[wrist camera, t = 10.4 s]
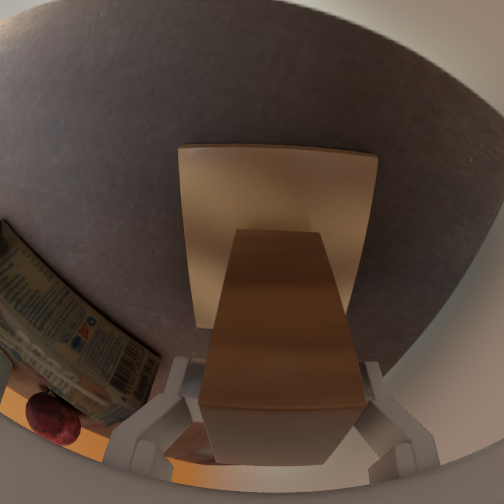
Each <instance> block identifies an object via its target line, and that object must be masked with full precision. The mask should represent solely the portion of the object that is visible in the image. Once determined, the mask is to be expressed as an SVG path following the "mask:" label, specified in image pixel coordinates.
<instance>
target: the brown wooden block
mask: <svg viewBox="0 0 504 504" xmlns="http://www.w3.org/2000/svg"><path fill="white" fill-rule="evenodd" d="M198 405H199V408H200V412H201V415H202V419H203V422H204V425H205V429H206V432H207V435H208V438H209V441H210V445H211V448H212V451H213V454H214V457H215V460H216V462H217V463H224V464H236V465H253V466H306V465H321V464H324V463H325V462H326V461H327V459H328V458H329V457H330V456H331V454H332V453H333V452H334V451H335V449H336V448H337V447H338V446H339V444H340V443H341V442H342V440H343V439H344V437H345V436H346V435H347V434H348V432H349V431H350V430H351V428H352V427H353V425H354V424H355V423H356V421H357V420H358V418H359V417H360V415H361V414H362V412H363V411H364V409H365V408H366V406H367V399H366V394H365V390H364V385H363V381H362V377H361V372H360V368H359V364H358V360H357V356H356V352H355V348H354V344H353V341H352V337H351V333H350V329H349V326H348V322H347V318H346V315H345V311H344V308H343V304H342V301H341V298H340V294H339V291H338V288H337V284H336V281H335V278H334V275H333V271H332V268H331V265H330V262H329V259H328V256H327V253H326V250H325V247H324V244H323V241H322V238H321V235H320V233H319V232H300V231H278V230H253V229H236V230H235V234H234V239H233V243H232V247H231V251H230V256H229V260H228V264H227V269H226V273H225V277H224V282H223V286H222V291H221V295H220V300H219V304H218V309H217V313H216V318H215V322H214V327H213V331H212V336H211V341H210V345H209V350H208V355H207V360H206V364H205V369H204V374H203V379H202V384H201V388H200V393H199V398H198Z"/></svg>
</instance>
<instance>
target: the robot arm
mask: <svg viewBox="0 0 504 504" xmlns="http://www.w3.org/2000/svg"><path fill="white" fill-rule="evenodd" d="M206 360H207V359H199V358H191V357H183V356H176V357H175V358H174V360H173V363H172V367H171V370H170V373H169V376H168V380H167V383H166V386H165V390H164V393H163V394H162V393H159V394H158V395H156V396H155V397H154V398H153V399H151V400H150V401H149V402H148V403H147V404H145V405H144V406H143V407H142V408H140V409H139V410H138V411H137V412H135V413H134V414H133V415H131V416H130V417H129V418H128V419H126V420H125V421H124V422H123V423H121V424H120V425H119V426H117V427H116V428H115V429H113V431H112V434H111V437H110V440H109V442H108V446H107V448H106V451H105V455H104V458H103V461H102V463H101V462H98V461H95V460H93V459H90V458H88V457H85V456H83V455H80V454H78V453H75V452H73V451H71V450H69V449H66V448H64V447H62V446H60V445H58V444H56V443H54V442H52V441H50V440H47V439H46V438H44V437H42V436H40V435H38V434H36V433H34V432H32V431H30V430H29V429H27V428H25V427H23V426H22V425H20V424H18V423H17V422H15V421H13V420H12V419H10V418H8V417H7V416H5V415H4V414H2V413H1V412H0V504H504V438H503V439H501V440H499V441H497V442H496V443H493V444H491V445H489V446H487V447H485V448H483V449H481V450H479V451H476V452H474V453H472V454H469V455H467V456H465V457H462V458H460V459H457V460H455V461H452V462H449V463H447V464H444V465H440V461H439V457H438V453H437V449H436V445H435V441H434V438H433V435H432V434H431V433H430V432H429V431H428V430H427V429H426V428H425V427H423V426H422V425H421V424H420V423H419V422H418V421H417V420H416V419H415V418H414V417H412V416H411V415H410V414H409V413H408V412H407V411H406V410H405V409H404V408H403V407H401V406H400V405H399V404H398V403H397V402H396V401H395V400H394V399H393V398H388V395H387V391H386V388H385V384H384V381H383V377H382V374H381V370H380V367H379V364H378V362H377V361H371V362H358V364H359V368H360V372H361V377H362V381H363V385H364V390H365V394H366V399H367V406H366V408H365V409H364V411H363V412H362V414H361V415H360V417H359V418H358V420H357V421H356V423H355V424H354V427H355V428H356V429H357V430H358V432H359V433H360V434H361V435H362V437H363V438H364V439H365V440H366V442H367V443H368V444H369V445H370V447H371V448H372V449H373V450H374V452H375V453H376V454H377V455H378V456H379V458H380V459H379V460H378V461H377V462H376V463H375V464H373V465H372V466H371V467H370V468H369V469H368V471H369V480H370V484H369V485H363V486H358V487H351V488H345V489H336V490H327V491H314V492H299V493H298V492H296V493H257V492H239V491H226V490H216V489H208V488H202V487H195V486H188V485H183V484H178V483H173V482H171V478H172V473H173V466H172V464H171V463H170V462H169V460H168V459H167V458H166V457H165V455H164V454H163V453H164V452H165V451H166V450H167V449H168V448H169V447H170V446H171V445H172V444H173V443H174V442H175V441H176V440H177V439H178V438H179V437H180V435H181V434H182V433H183V432H184V431H185V430H186V429H187V428H188V427H189V426H190V425H191V424H192V421H194V422H203V419H202V415H201V412H200V408H199V405H198V398H199V393H200V388H201V384H202V379H203V374H204V369H205V364H206Z"/></svg>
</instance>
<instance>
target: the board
mask: <svg viewBox="0 0 504 504" xmlns="http://www.w3.org/2000/svg"><path fill="white" fill-rule="evenodd" d="M378 160H379V158H378V157H377V156H375V155H373V154H370V153H363V152H355V151H347V150H338V149H328V148H317V147H304V146H289V145H269V144H185V145H182V146H180V147H179V148H178V162H179V178H180V191H181V204H182V215H183V226H184V236H185V245H186V254H187V263H188V271H189V279H190V286H191V294H192V301H193V308H194V315H195V321H196V327H197V328H208V329H213V327H214V322H215V318H216V313H217V309H218V304H219V300H220V295H221V291H222V286H223V282H224V277H225V273H226V269H227V264H228V260H229V256H230V251H231V247H232V243H233V239H234V234H235V230H236V229H253V230H278V231H300V232H319V233H320V235H321V238H322V241H323V244H324V247H325V250H326V253H327V256H328V259H329V262H330V265H331V268H332V271H333V275H334V278H335V281H336V284H337V288H338V291H339V294H340V298H341V301H342V304H343V308H344V311H345V315H346V311H347V308H348V304H349V301H350V297H351V294H352V290H353V286H354V282H355V278H356V274H357V270H358V266H359V262H360V258H361V254H362V249H363V245H364V240H365V235H366V231H367V226H368V221H369V216H370V210H371V205H372V199H373V193H374V187H375V181H376V174H377V168H378Z"/></svg>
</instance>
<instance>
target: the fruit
mask: <svg viewBox="0 0 504 504" xmlns="http://www.w3.org/2000/svg"><path fill="white" fill-rule="evenodd" d="M48 390H49V391H48V392H40V393H36V394H34V395H33V396H31V397H30V399H29V400H28V402H27V404H26V418H27V421H28V423H29V425H30V427H31V429H32V430H33V431H34V433H36V434H38V435H40V436H42V437H44V438H46V439H47V440H50V441H52V442H54V443H56V444H58V445H62V446H66V445H70V444H72V443H73V442H75V441H76V440H77V438H78V436H79V434H80V431H81V423H80V420H79V417H78V415H77V413H76V412H75V411H74V410H73V409H72V408H71V407H69V406H68V405H67V404H65V403H64V402H63V401H61V400H60V399H59V398H58V397H57V396H56V395H55V394H53V393H52V392H51V390H50V389H48Z"/></svg>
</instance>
